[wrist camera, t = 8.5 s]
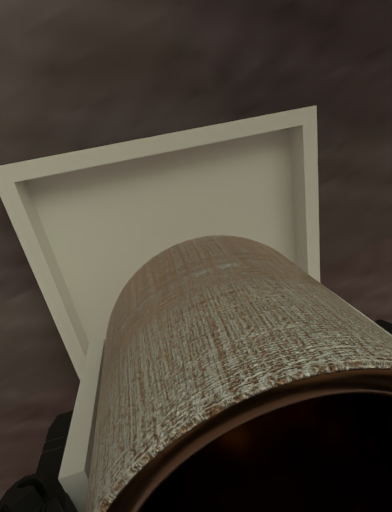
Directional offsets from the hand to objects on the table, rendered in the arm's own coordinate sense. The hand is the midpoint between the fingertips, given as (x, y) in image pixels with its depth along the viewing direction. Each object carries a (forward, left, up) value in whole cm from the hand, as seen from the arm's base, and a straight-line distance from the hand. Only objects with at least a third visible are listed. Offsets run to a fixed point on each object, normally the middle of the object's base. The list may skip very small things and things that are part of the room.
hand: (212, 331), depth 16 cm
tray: (0, 0, -8) cm, 8 cm away
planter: (0, 0, -1) cm, 1 cm away
